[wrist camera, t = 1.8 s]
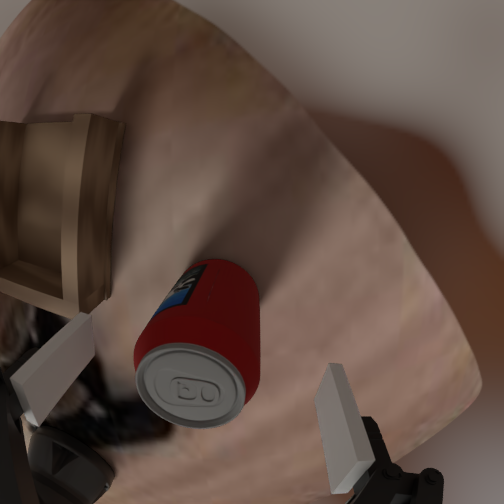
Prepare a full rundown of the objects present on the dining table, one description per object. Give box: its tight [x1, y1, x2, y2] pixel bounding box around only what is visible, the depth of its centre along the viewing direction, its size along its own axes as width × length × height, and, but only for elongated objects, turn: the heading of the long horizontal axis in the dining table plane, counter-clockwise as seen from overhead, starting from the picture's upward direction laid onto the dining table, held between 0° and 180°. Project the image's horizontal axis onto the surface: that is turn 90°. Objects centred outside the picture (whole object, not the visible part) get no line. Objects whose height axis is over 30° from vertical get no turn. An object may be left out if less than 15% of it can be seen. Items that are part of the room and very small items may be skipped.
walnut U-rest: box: [0, 114, 126, 319], centre depth 20 cm, size 15×13×5 cm
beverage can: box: [134, 259, 260, 429], centre depth 18 cm, size 7×7×12 cm
